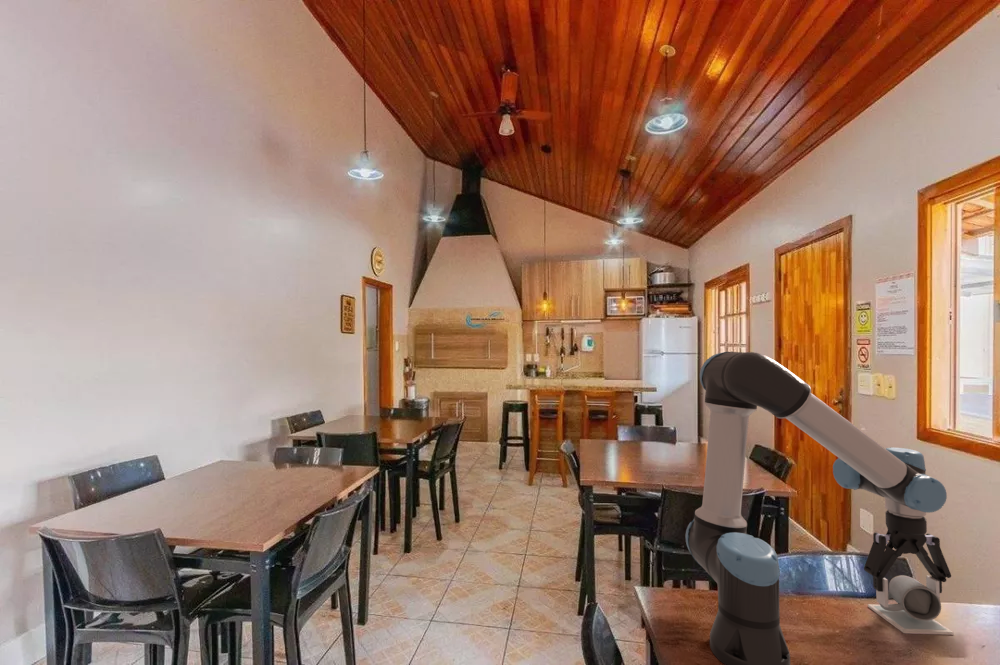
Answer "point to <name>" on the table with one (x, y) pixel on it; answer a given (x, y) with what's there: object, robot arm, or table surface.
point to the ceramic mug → (913, 598)
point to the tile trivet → (910, 622)
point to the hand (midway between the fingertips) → (907, 605)
